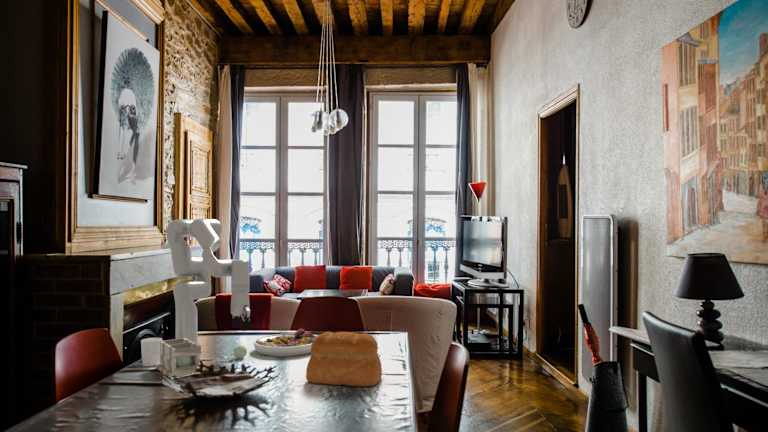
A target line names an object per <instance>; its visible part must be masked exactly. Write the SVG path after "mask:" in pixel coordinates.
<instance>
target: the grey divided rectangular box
mask: <svg viewBox="0 0 768 432" xmlns="http://www.w3.org/2000/svg"><path fill="white" fill-rule="evenodd" d="M201 354H202V345H201V346H199V345H197V344H196V343H194V342H192V341H190V340H188V339H186V338H180V339H176V338H173V339H167V340H165V339H164V340H162V341H160V364H156V365H155V366H156V369H157V370H159V371H160V372H161V373H162V374H163V375H165V376H166V375H167V376H174V375H175V376H181V375H188V374H192V373H194V372H195V371H196V368H197V367H198V366H199V363H200V364H201ZM186 356H189V357H190V358H191V365H190V366H187V367H181V368H177V366H176V359H177V358H179V357H186ZM167 376H166V377H167Z"/></svg>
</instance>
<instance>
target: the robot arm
mask: <svg viewBox="0 0 768 432" xmlns="http://www.w3.org/2000/svg"><path fill="white" fill-rule="evenodd" d="M165 232H166V233H165V235H166V240H167V242H168V246H169V250H170V255H171V260H172V268H173V272H174V275H175V277H177V278H192V279H183V280H180V281H178V282H176V283H175V284H174V286H173V290H172V291H173V297H174V303H175V339H180V338H186V339H188V340H190V341H192V342H194V343H196V344H197V345H199V346H201V347H202V344H201V343H198V317H199V316H198V315H199V314H198V307H197V304H196V303H195V301H194V300H200V299H206V298H208V297H209V296H210V295H211V293H212V281H211V277H214V278H228V277H230V278H231V279H230V280H231V281H230V282H231V283H230V285H231V286H230V288H231V290H230V291H231V297H230V314H231V315H232V317H231V318H232V328H233V329H237V328H241V331H242V332H245V331H250V328H251V327H250V324H251V323H250V320H251V319H250V317H251V309H250V308H251V307H250V295H249V294H250V293H249V292H251V291H250V287H251V286H250V285H251V283H250V261H249V260H247V259H236V258H227V259H226V258H223V259H218V258H217V257H216V256H215V255H214V253H215V252H216V251H217V250H218V249H219V248H220V247H221V245H222V240H221V238H220V235H221V233H222V232H223V226H222V224H221V222H220V221H219V220H217V219H216V218H197V219H189V218H186V219H185V218H181V219H180V218H178V219H174V220H172V221H170V222H169V223H168V225H167V226H166V231H165ZM185 238H195V240H196V241H197V242H198V244H199V246H200V247H201V248H202V254H201V256H192V254H191V247H190V245H189V244H188V241H186V240H185ZM193 277H194V279H193ZM241 319H242V321H241Z"/></svg>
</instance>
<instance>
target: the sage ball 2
mask: <svg viewBox="0 0 768 432" xmlns="http://www.w3.org/2000/svg"><path fill="white" fill-rule="evenodd" d="M232 353H233V356H234V357H235V358H236V359H240V360H241V359H243V358H245V357H246V356H247V354H248V350H247V348H246V346H245V345H242V344H238V345H237V346H235V347H234V348H233V352H232Z"/></svg>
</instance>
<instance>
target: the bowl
mask: <svg viewBox="0 0 768 432" xmlns="http://www.w3.org/2000/svg"><path fill="white" fill-rule="evenodd" d="M318 336H319V335H315V334H313V333H312V332H311V331H306V330H305V329H304V328H299V329H297V330H296V331H295V333H293V332H292V333H291V332H290V333H279V334H278V333H277V334H269V335H265V336H262V337H259V338H256V339H255V340H253V346H254V350H255V351H256V352H257V353H259V354H261V355H262V356H267V357H275V358H276V357H277V358H286V357H287V358H288V357H289V358H290V357H298V356H299V357H300V356H304V355H308V354H311V346H312V343H313V341H314V340H315V339H316V337H318Z"/></svg>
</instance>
